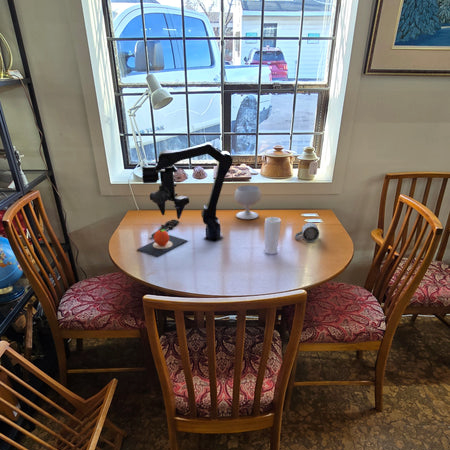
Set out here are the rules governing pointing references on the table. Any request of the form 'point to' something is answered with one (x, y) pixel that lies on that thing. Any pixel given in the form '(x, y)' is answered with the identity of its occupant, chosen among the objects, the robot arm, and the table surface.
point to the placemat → (162, 246)
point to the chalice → (247, 200)
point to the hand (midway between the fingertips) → (170, 216)
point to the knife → (167, 226)
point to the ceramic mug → (308, 232)
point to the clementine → (161, 237)
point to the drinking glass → (272, 234)
